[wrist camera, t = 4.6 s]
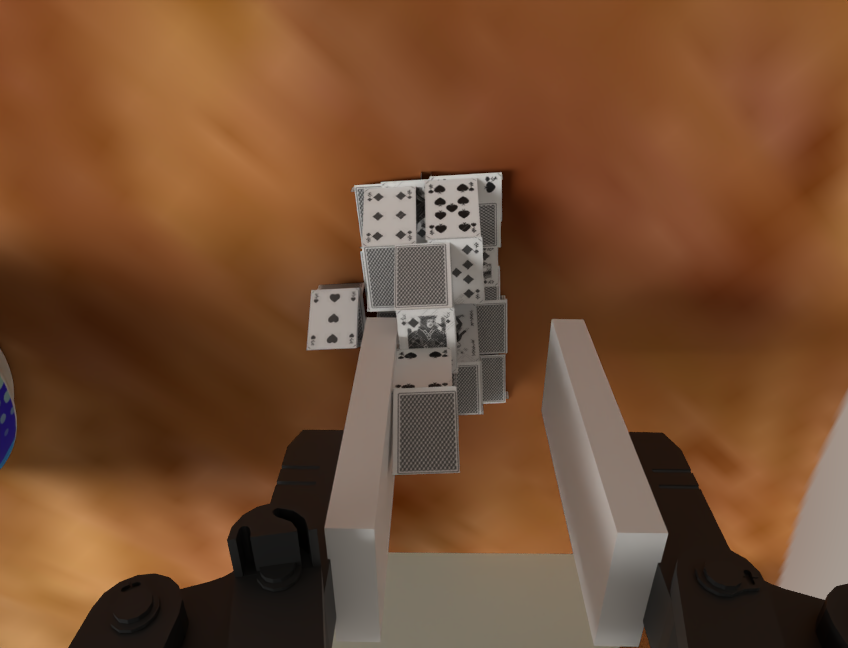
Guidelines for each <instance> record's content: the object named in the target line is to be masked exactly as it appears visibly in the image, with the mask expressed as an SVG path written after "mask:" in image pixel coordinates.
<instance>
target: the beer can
mask: <svg viewBox="0 0 848 648" xmlns="http://www.w3.org/2000/svg"><path fill="white" fill-rule="evenodd" d="M16 433H17V415H16V409H15V404H14V384H13V379H12V375H11V371H10V368H9V365H8V363H7V360H6V358H5V356H4V354H3V352H2V351H1V349H0V469H1V468H2V467H3V465H4V464H5V462H6V461H7V459H8V458H9V456H10V454H11V451H12V449H13V447H14V443H15V439H16Z"/></svg>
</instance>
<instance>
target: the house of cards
mask: <svg viewBox="0 0 848 648" xmlns="http://www.w3.org/2000/svg"><path fill="white" fill-rule="evenodd" d="M429 178H430V179H422V175H421V180H405V181H388V182H381V184H368V185H354V187H352V190H351V192H355V196H356V204H357V212H358V219H359V227H360V235H361V243H362V247H359V248H361V249H362V251H360V254H361V262H362V269H363V277H364V283H347V284H328V285H319V286H318V289H317V290H311V301H310V313H309V326H308V338H307V350H325V349H347V348H358V347H360V346H361V343H362V338H363V333H364V328H365V323H366V317H365V310H364V303H363V290H364V285H365V292H366V299H367V312H377V317H385V318H397V325H398V335H399V349H397V351H396V360H395V370H394V380H393V389H392V415H393V471H392V474H393V475H407V474H437V473H460V465H459V440H458V431H459V422H458V415H476V414H483V404H489V403H506V399H509V395H508V392H505V354H503V355H499V353H507V299H506V298H505V295H501V296H500V266H498V247H501V221H502V180H503V175H502V172H498V173H481V174H464V175H448V176H431V177H429Z"/></svg>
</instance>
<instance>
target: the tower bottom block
mask: <svg viewBox="0 0 848 648" xmlns="http://www.w3.org/2000/svg"><path fill="white" fill-rule="evenodd" d="M332 648H620V647H619V646H594V643H593V639H592V635H591V630H590V626H589V621H588V617H587V612H586V608H585V603H584V599H583V594H582V590H581V585H580V581H579V577H578V572H577V568H576V563H575V559H574V554H504V553H388V560H387V572H386V584H385V595H384V607H383V618H382V630H381V642H348V641H336V632H335V630H334V637H333V643H332Z"/></svg>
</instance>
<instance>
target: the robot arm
mask: <svg viewBox="0 0 848 648" xmlns="http://www.w3.org/2000/svg"><path fill="white" fill-rule="evenodd" d="M397 349H399V335H398V325H397V318H385V317H367V318H366V323H365V328H364V333H363V338H362V343H361V348H360V353H359V358H358V363H357V368H356V373H355V378H354V383H353V388H352V393H351V398H350V403H349V408H348V413H347V418H346V423H345V428H344V430H302V431H301V433H300V434H299V435H298V436H297V437H296V438H295V439H294V440H293V441H292V442H291V443H290V444H289V446H288V447H287V450H286V454H285V457H284V460H283V463H282V469H281V470H280V473H279V476H278V480H277V485H276V486H275V489H274V492H273V496H272V499H271V502H270V504H266V505H262V506H259V507H256V508H254V509H253V510H251V511H249V512H248V513H246V514H244V515H243V516H242V517H241V518H240V519H239V520H238V521H237V522H236V523H235V524H234V525H233V526H232V528H231V531H230V534H229V536H228V539H227V542H228V547H229V551H230V556H231V561H232V565H233V570H234V571H233V572H231V573H230V574H228V575H226V576H224V577H222V578H219V579H216V580H213V581H210V582H206V583H203V584H199V585H195V586H191V587H187V588H183V589H180V588H179V586H178V585H177V584H176V583H175V582H174V581H173V580H172V579H171V578H169V577H166V576H162V575H159V574H145V575H137V576H134V577H132V578H129V579H126V580H124V581H121V582H119V583H118V584H116V585H115V586H114V587H112V588H111V589H109V590H108V591H107V592H105V593H104V594H103V595H102V596H101V598H100V599H99V600H98V601H97V602H96V604H95V605H94V606H93V607H92V609H91V610H90V612H89V614H88V615H87V617H86V619H85V620H84V622H83V624H82V626H81V627H80V629H79V631H78V632H77V634H76V636H75V637H74V639H73V641H72V642H71V644H70V646H69V647H68V648H332V643H333V637H334V630H335V632H336V641H348V642H381V630H382V618H383V607H384V595H385V584H386V572H387V560H388V549H389V537H390V525H391V514H392V502H393V491H394V479H395V475H393V474H392V471H393V415H392V389H393V380H394V370H395V360H396V351H397ZM541 411H542V416H543V420H544V425H545V429H546V434H547V438H548V443H549V447H550V452H551V456H552V461H553V465H554V469H555V474H556V478H557V483H558V487H559V492H560V496H561V501H562V505H563V510H564V514H565V519H566V523H567V527H568V532H569V536H570V541H571V545H572V550H573V554H574V559H575V563H576V568H577V572H578V577H579V581H580V585H581V590H582V594H583V599H584V603H585V608H586V612H587V617H588V621H589V626H590V630H591V635H592V639H593V643H594V646H623V647H639V644H640V640H641V636H642V632H643V628H644V627H645V630H646V634H647V637H648V640H649V644H650V647H651V648H848V584H845V585H840V586H836V587H835V588H834V589H833V590H832V591H831V592H830V593H829V594H828V595H827V597H826V600H822V599H819V598H815V597H812V596H808V595H804V594H801V593H797V592H794V591H790V590H786V589H783V588H781V587H778V586H775V585H772V584H770V583H768V582H766V581H764V579H763V577H762V575H761V574H760V572H759V571H758V570H757V569H756V568H755V567H754V566H753V565H752V564H751V563H750V562H749V561H748V560H747V559H745V558H743V557H741V556H740V555H738V554H736V553H734V552H733V551H731V550H730V548H729V547H728V545H727V543H726V540H725V538H724V536H723V534H722V532H721V530H720V528H719V526H718V524H717V522H716V520H715V518H714V516H713V514H712V512H711V510H710V508H709V506H708V504H707V502H706V500H705V497H704V495H703V493H702V491H701V489H699V488H698V486H699V485H698V483H697V481H696V479H695V477H694V475H693V473H691V469H690V467H689V465H688V463H687V461H686V459H685V457H684V455H683V452H682V450H681V449H680V448H679V447H678V446H676V445H675V444H674V443H673V442H672V441H671V440H670V439H669V438H668V437H667V436H666V435H665V434H663V433H650V432H628V430H627V428H626V425H625V423H624V420H623V418H622V415H621V413H620V410H619V408H618V405H617V402H616V400H615V397H614V395H613V392H612V390H611V387H610V385H609V382H608V380H607V377H606V375H605V372H604V370H603V367H602V365H601V362H600V360H599V357H598V354H597V352H596V349H595V347H594V344H593V342H592V339H591V337H590V334H589V332H588V329H587V327H586V324H585V322H584V319H552V320H551V329H550V338H549V347H548V356H547V365H546V374H545V383H544V392H543V401H542V410H541Z"/></svg>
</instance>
